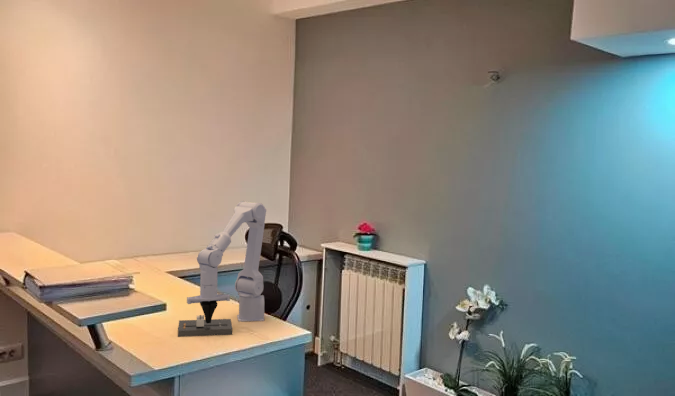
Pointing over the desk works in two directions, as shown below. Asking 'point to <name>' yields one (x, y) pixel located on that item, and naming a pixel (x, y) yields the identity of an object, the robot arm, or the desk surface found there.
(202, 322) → the fader knob
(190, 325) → the fader console
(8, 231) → the desk surface
